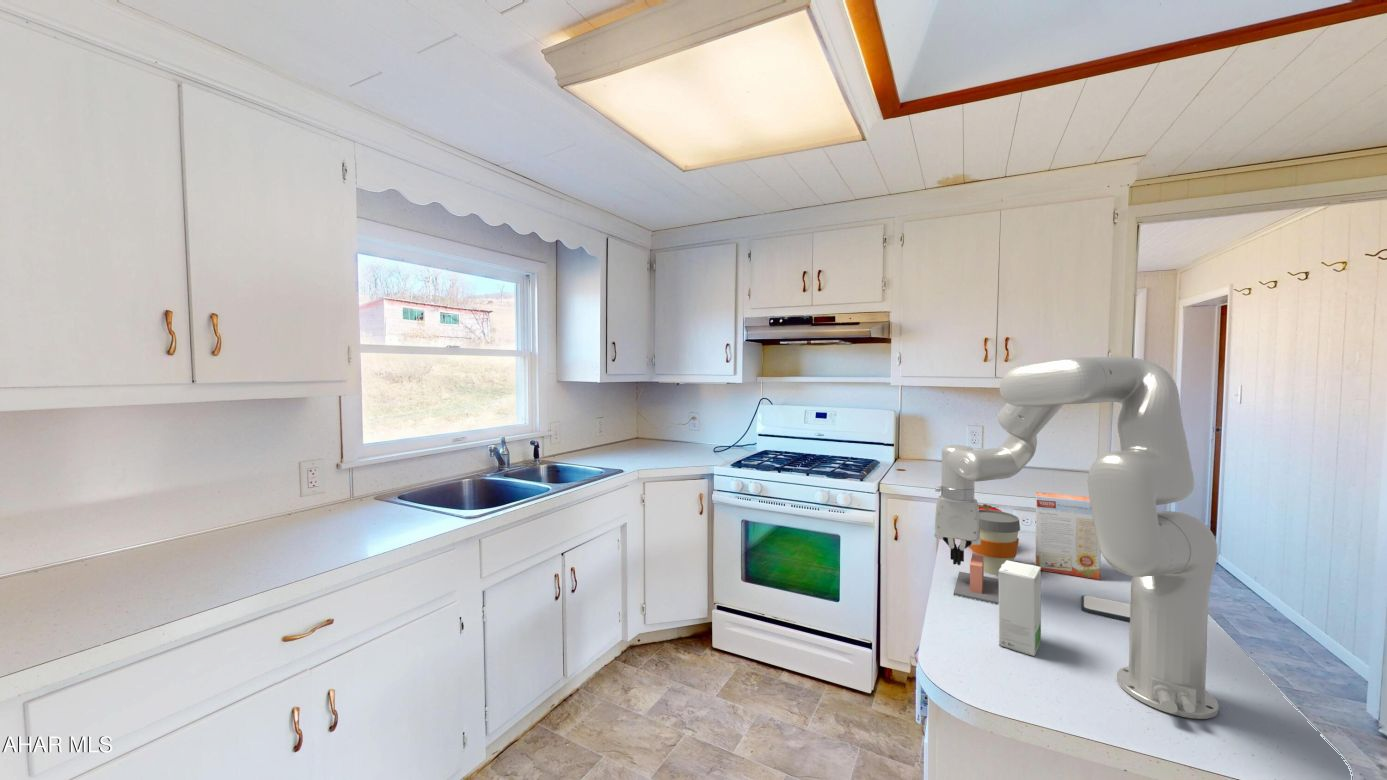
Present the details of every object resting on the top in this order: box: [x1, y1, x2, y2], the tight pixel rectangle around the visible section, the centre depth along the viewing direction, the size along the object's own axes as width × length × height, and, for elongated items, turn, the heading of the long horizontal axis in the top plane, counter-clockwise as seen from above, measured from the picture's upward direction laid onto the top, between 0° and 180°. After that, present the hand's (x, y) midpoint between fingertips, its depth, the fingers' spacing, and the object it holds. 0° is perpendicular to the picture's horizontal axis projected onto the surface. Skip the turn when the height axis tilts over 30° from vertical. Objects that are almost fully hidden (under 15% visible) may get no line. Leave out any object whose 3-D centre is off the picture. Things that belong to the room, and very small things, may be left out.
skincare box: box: [998, 560, 1042, 657], centre depth 101 cm, size 8×7×16 cm
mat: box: [953, 571, 999, 605], centre depth 125 cm, size 15×15×1 cm
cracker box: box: [1035, 491, 1102, 580], centre depth 135 cm, size 14×6×21 cm, turn 58°
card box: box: [969, 552, 985, 594], centre depth 126 cm, size 9×3×7 cm, turn 147°
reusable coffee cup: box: [969, 510, 1021, 576], centre depth 138 cm, size 13×13×15 cm
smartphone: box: [1080, 594, 1130, 624], centre depth 112 cm, size 9×2×16 cm
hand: (957, 562), depth 129 cm, fingers closed
